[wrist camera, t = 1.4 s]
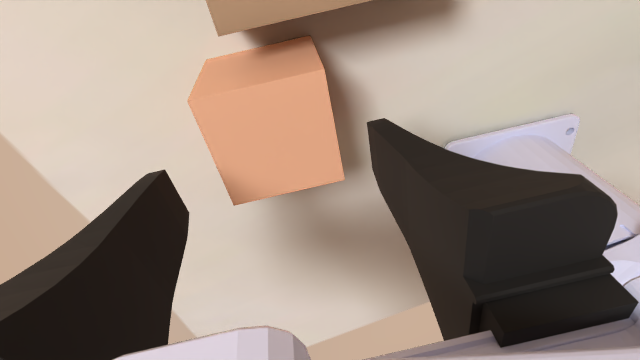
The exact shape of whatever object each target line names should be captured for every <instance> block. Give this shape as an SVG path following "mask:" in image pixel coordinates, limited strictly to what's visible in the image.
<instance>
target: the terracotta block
mask: <svg viewBox="0 0 640 360" xmlns="http://www.w3.org/2000/svg"><path fill="white" fill-rule="evenodd" d="M188 104H189V106H190V108H191V110H192V113H193V115H194V117H195V119H196V122H197V124H198V126H199V128H200V131H201V133H202V135H203V137H204V140H205V142H206V144H207V146H208V149H209V151H210V153H211V155H212V157H213V160H214V162H215V164H216V166H217V169H218V171H219V173H220V175H221V178H222V180H223V182H224V184H225V187H226V189H227V191H228V193H229V196H230V198H231V200H232V202H233V205H238V204H243V203H247V202H251V201H256V200H260V199H264V198H269V197H273V196H277V195H282V194H286V193H290V192H295V191H299V190H303V189H308V188H312V187H316V186H321V185H325V184H329V183H333V182H338V181H342V180H345V178H344V173H343V167H342V162H341V156H340V151H339V146H338V140H337V135H336V129H335V124H334V118H333V113H332V107H331V102H330V96H329V91H328V86H327V80H326V75H325V69H324V67H323V64H322V62H321V60H320V57H319V55H318V53H317V51H316V48H315V46H314V44H313V41H312V39H311V37H310V35H309V36H305V37H301V38H297V39H292V40H288V41H284V42H280V43H275V44H271V45H267V46H263V47H258V48H254V49H250V50H245V51H241V52H237V53H233V54H228V55H224V56H220V57H216V58H211V59H207V60H206V61H205V63H204V65H203V68H202V70H201V72H200V74H199V76H198V79H197V81H196V83H195V85H194V87H193V90H192V92H191V94H190V96H189V98H188Z"/></svg>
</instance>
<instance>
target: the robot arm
mask: <svg viewBox="0 0 640 360" xmlns="http://www.w3.org/2000/svg"><path fill="white" fill-rule="evenodd" d="M579 123H580V118H579V117H578V116H576V115H574V114H567V115H563V116H559V117H554V118H550V119H546V120H542V121H537V122H533V123H529V124H524V125H520V126H516V127H511V128H507V129H503V130H498V131H494V132H490V133H485V134H481V135H477V136H472V137H468V138H464V139H460V140H455V141H452V142H449V143H448V144H447V145H446V147H445V149H444V148H442V147H439V146H437V145H435V144H433V143H430V142H428V141H426V140H424V139H422V138H420V137H418V136H416V135H414V134H412V133H410V132H408V131H406V130H405V129H403V128H401V127H399V126H398V125H396V124H394V123H392V122H390V121H389V120H387V119H385V118H383V119H379V120H374V121H370V122H367V127H368V135H369V144H370V152H371V160H372V168H373V172H374V175H375V178H376V181H377V183H378V186H379V189H380V191H381V194H382V195H383V197H384V199H385V201H386V203H387V205H388V207H389V209H390V211H391V213H392V214H393V216H394V218H395V220H396V222H397V224H398V226H399V228H400V229H401V231H402V233H403V235H404V237H405V239H406V241H407V243H408V245H409V248H410V250H411V252H412V255H413V258H414V260H415V263H416V265H417V268H418V270H419V273H420V275H421V278H422V281H423V283H424V286H425V289H426V291H427V294H428V297H429V299H430V302H431V305H432V308H433V311H434V313H435V316H436V319H437V322H438V324H439V327H440V330H441V333H442V336H443V339H444V341H441V342H437V343H433V344H428V345H424V346H420V347H416V348H411V349H407V350H403V351H399V352H394V353H390V354H385V355H381V356H377V357H372V358H368V359H364V360H640V205H638V204H637V203H635V202H634V201H633V200H631V199H630V198H629V197H627V196H626V195H625V194H623V193H622V192H620V191H619V190H618V189H616V188H615V187H614V186H612V185H611V184H610V183H608V182H607V181H606V180H604V179H603V178H601V177H600V176H599V175H597V174H596V173H595V172H593V171H592V170H591V169H589V168H588V167H586V166H585V165H584V164H582V163H581V162H580V161H578V160H577V159H576V158H574V157H573V156H571V155H570V154H571V151H572V147H573V144H574V140H575V137H576V133H577V130H578V126H579ZM568 129H569V130H568ZM567 130H568V131H567ZM188 224H189V212H188V210H187V208H186V206H185V205H184V203H183V201H182V199H181V197H180V196H179V194H178V192H177V190H176V188H175V187H174V185H173V183H172V181H171V180H170V178H169V176H168V174H167V172H166V171H165V170H161V171H157V172H153V173H148V174H147V175H145V176H144V177H142V178H141V179H140V180H139V181H137V182H136V183H135V184H134V185H133V186H132V187H131V188H129V189H128V190H127V191H126V192H125V193H124V194H123V195H122V196H121V197H119V198H118V199H117V200H116V201H115V202H114V203H113V204H112V205H111V206H109V207H108V208H107V209H106V210H105V211H104V212H103V213H101V214H100V215H99V216H98V217H97V218H96V219H94V220H93V221H92V222H91V223H90V224H88V225H87V226H86V227H85V228H84V229H83V230H81V231H80V232H79V233H78V234H76V235H75V236H74V237H73V238H71V239H70V240H69V241H67V242H66V243H65V244H63V245H62V246H60V247H59V248H58V249H56V250H55V251H53V252H52V253H51V254H49V255H48V256H46V257H45V258H43V259H41V260H40V261H38V262H37V263H35V264H34V265H32V266H30V267H29V268H27V269H26V270H24V271H23V272H21V273H19V274H18V275H16V276H15V277H13V278H11V279H10V280H8V281H6V282H4V283H3V284H1V285H0V360H311V359H310V356H309V354H308V352H307V349H306V347H305V345H304V344H303V343H302V342H301V341H300V340H299V339H298V338H296V337H295V336H294V335H293V334H292V333H290V332H289V331H286V330H282V329H277V328H273V327H269V326H257V327H244V328H237V329H233V330H229V331H224V332H220V333H216V334H211V335H207V336H203V337H198V338H194V339H190V340H186V341H181V342H177V343H173V344H168V336H169V326H170V318H171V309H172V302H173V297H174V291H175V287H176V283H177V279H178V275H179V271H180V267H181V263H182V259H183V254H184V250H185V246H186V241H187V236H188Z"/></svg>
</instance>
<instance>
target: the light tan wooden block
mask: <svg viewBox="0 0 640 360" xmlns="http://www.w3.org/2000/svg"><path fill="white" fill-rule="evenodd" d="M367 1H371V0H206V2H207V5H208V8H209V11H210V14H211V16H212V19H213V22H214V25H215V28H216V31H217V34H218V36H223V35H227V34H231V33H235V32H240V31H244V30H248V29H252V28H257V27H261V26H265V25H269V24H274V23H278V22H282V21H286V20H291V19H295V18H299V17H303V16H308V15H312V14H316V13H320V12H325V11H329V10H333V9H337V8H342V7H346V6H350V5H354V4H359V3H363V2H367Z"/></svg>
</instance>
